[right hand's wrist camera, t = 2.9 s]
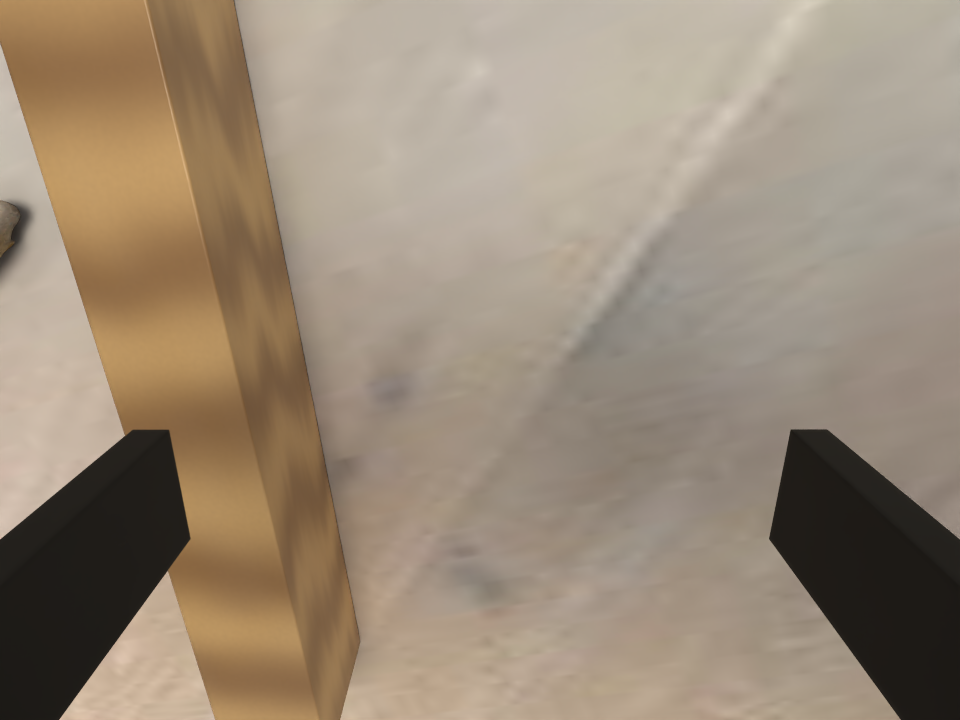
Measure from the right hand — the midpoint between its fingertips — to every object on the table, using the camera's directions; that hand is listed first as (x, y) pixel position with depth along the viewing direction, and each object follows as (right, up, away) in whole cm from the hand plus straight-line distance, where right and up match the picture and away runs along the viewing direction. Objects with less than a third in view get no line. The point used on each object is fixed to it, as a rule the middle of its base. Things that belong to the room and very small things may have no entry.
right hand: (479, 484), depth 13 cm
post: (-12, +14, +13) cm, 23 cm away
